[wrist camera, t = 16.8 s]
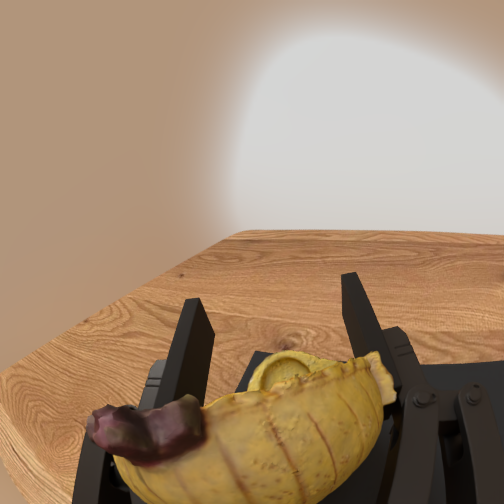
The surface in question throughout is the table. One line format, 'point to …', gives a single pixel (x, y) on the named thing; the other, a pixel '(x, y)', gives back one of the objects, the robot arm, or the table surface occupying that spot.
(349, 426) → the yellow ribbed rounded piece
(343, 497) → the shoe mat
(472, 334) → the table surface
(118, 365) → the table surface
